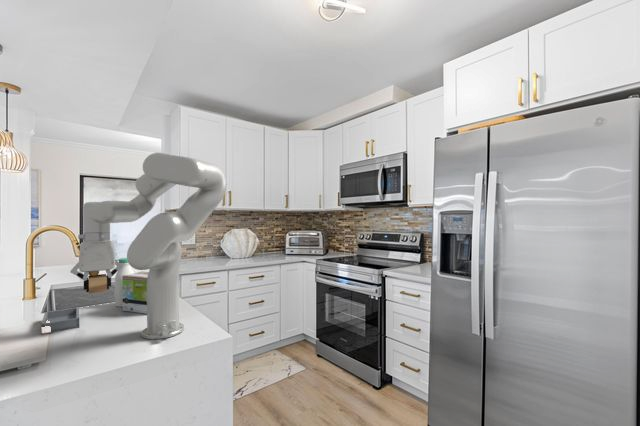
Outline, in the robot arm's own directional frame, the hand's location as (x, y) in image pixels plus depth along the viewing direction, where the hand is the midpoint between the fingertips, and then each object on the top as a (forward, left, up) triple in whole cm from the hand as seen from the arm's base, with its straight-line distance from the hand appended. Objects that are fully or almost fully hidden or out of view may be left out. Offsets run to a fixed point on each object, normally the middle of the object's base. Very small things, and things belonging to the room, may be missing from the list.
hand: (97, 289), depth 109 cm
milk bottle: (+27, -11, -13) cm, 32 cm away
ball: (0, 0, +5) cm, 5 cm away
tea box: (+13, -17, -14) cm, 25 cm away
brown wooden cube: (0, 0, -1) cm, 1 cm away
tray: (+13, +10, -13) cm, 21 cm away
